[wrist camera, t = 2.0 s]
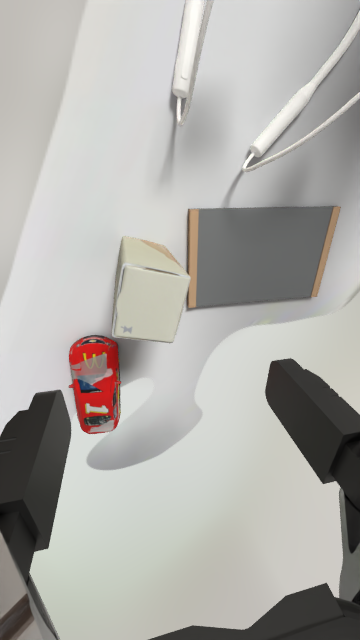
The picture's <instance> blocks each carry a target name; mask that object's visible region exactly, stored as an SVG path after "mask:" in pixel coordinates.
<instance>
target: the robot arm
mask: <svg viewBox="0 0 360 640" xmlns="http://www.w3.org/2000/svg"><path fill="white" fill-rule="evenodd" d="M265 393H266V399H267V402H268V404H269V406H270V407H271V409H272V410H273V412H274V413H275V415H276V416H277V417H278V419H279V420H280V422H281V423H282V425H283V426H284V428H285V429H286V431H287V432H288V434H289V435H290V436H291V438H292V439H293V441H294V442H295V444H296V445H297V447H298V448H299V450H300V451H301V453H302V454H303V455H304V457H305V458H306V460H307V461H308V463H309V464H310V466H311V467H312V468H313V470H314V471H315V473H316V474H317V476H318V477H319V479H320V480H321V482H322V483H323V484H325V483H330V482H334V481H337V483H338V484H339V485H340V487H341V489H340V491H339V500H340V501H339V503H340V517H341V532H342V546H343V565H342V570H341V575H340V585H339V598H336V597H334V596H333V594H332V592H331V590H330V588H329V586H328V584H327V583H325V584H322V585H318V586H315V587H312V588H309V589H306V590H303V591H300V592H296V593H294V594H290V595H287V596H285V597H284V598H283V599H282V600H281V601H279V602H278V603H277V604H276V605H275V606H274V607H273V608H271V609H270V610H269V611H268V612H267V613H266V614H265V615H264V616H262V617H261V618H260V619H259V620H258V621H257V622H255V623H254V624H253V625H252V626H251V627H249V628H248V629H245V630H237V629H226V628H215V627H203V626H190V627H187V628H183V629H180V630H177V631H174V632H171V633H168V634H164V635H161V636H158V637H155V638H152V639H149V640H360V415H359V414H358V413H357V412H356V411H355V410H354V409H353V408H352V407H351V406H350V405H349V404H348V403H347V402H346V401H345V400H343V399H342V398H341V397H339V396H338V394H337V393H336V392H335V391H334V390H333V389H330V386H329V385H328V384H327V383H325V382H324V381H323V380H322V379H321V378H320V377H319V376H317V375H315V374H314V373H312V372H310V371H308V370H307V369H305V370H304V369H303V368H302V367H301V366H300V365H299V364H298V363H297V362H296V361H294V360H293V359H283V360H277V361H272V362H271V364H270V369H269V374H268V379H267V385H266V390H265ZM70 439H71V422H70V418H69V414H68V411H67V407H66V404H65V401H64V397H63V394H62V391H61V390H54V391H47V392H40V393H36V394H35V395H34V397H33V400H32V402H31V404H30V407H29V409H28V410H23V411H19V412H18V413H17V414H16V415H15V416H14V417H13V418H12V419H11V420H10V421H9V422H8V423H7V424H6V426H5V428H4V430H3V432H2V434H1V436H0V640H60V638H59V636H58V634H57V631H56V630H55V627H54V625H53V623H52V621H51V619H50V616H49V614H48V612H47V610H46V608H45V606H44V603H43V601H42V599H41V597H40V595H39V592H38V590H37V588H36V586H35V584H34V582H33V579H32V577H31V575H30V573H29V571H30V567H31V563H32V558H33V554H34V552H35V551H39V550H44V549H48V547H49V542H50V537H51V532H52V527H53V522H54V518H55V513H56V508H57V503H58V498H59V493H60V488H61V483H62V478H63V473H64V468H65V463H66V458H67V453H68V448H69V444H70Z"/></svg>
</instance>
